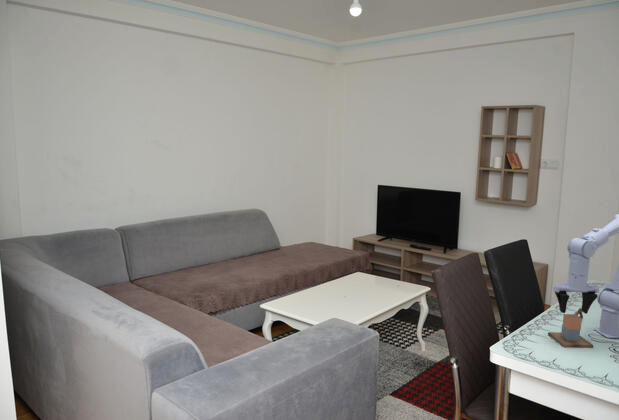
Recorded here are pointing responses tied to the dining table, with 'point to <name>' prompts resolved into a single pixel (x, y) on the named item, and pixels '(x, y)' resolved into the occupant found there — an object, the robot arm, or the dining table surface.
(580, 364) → the dining table surface
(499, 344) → the dining table surface
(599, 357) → the dining table surface
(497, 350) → the dining table surface
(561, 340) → the walnut base plate
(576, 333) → the slate cube
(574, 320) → the terracotta cube
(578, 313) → the wooden post with brackets
